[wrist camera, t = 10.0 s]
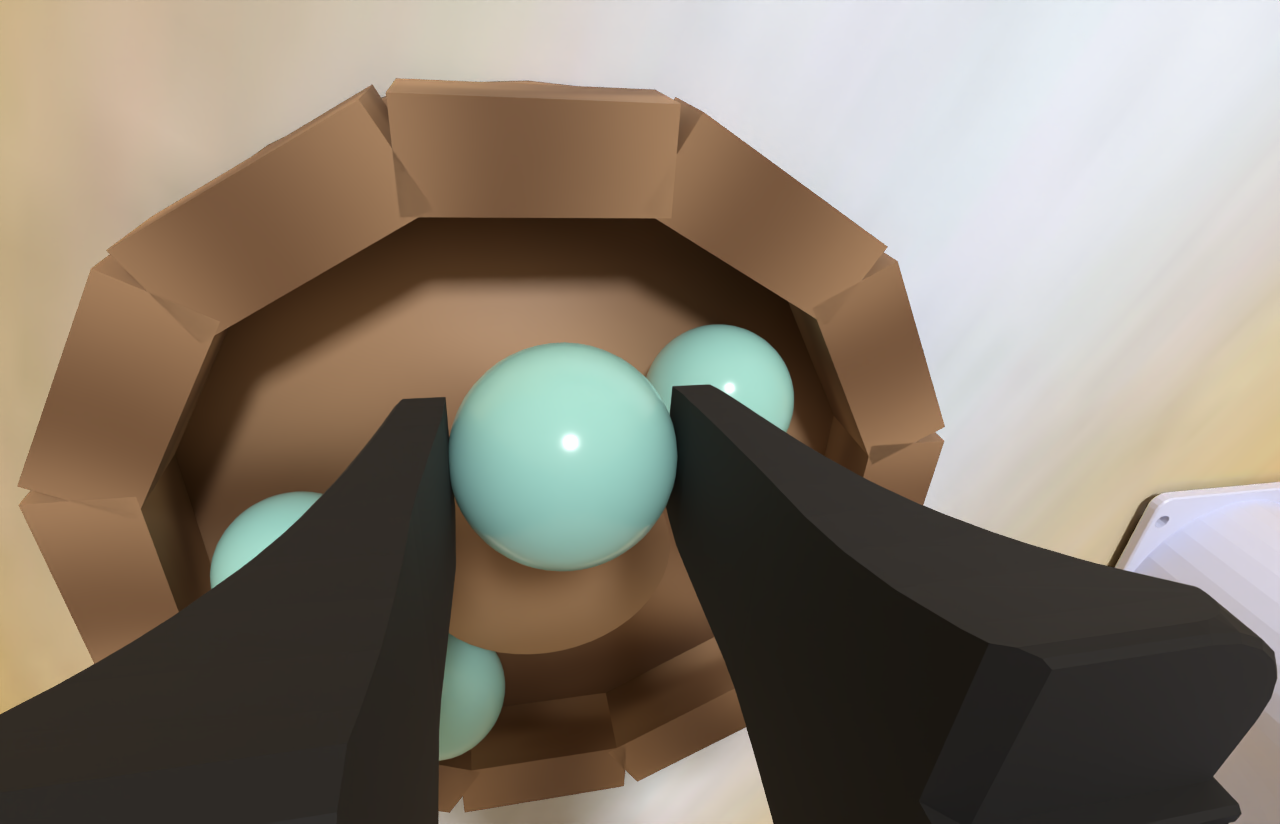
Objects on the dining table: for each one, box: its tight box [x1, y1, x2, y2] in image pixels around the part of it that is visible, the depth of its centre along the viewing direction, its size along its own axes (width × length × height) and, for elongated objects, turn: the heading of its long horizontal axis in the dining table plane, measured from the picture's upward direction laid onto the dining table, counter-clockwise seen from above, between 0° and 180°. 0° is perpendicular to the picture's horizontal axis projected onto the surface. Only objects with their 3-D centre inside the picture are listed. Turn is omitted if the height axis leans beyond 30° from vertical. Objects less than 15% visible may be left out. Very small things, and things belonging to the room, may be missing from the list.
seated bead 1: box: [210, 491, 322, 589], centre depth 16 cm, size 3×3×3 cm
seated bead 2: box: [439, 634, 505, 761], centre depth 19 cm, size 3×3×3 cm
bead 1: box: [449, 342, 678, 571], centre depth 11 cm, size 3×3×3 cm
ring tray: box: [18, 78, 945, 813], centre depth 18 cm, size 20×20×3 cm
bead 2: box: [646, 324, 794, 433], centre depth 16 cm, size 3×3×3 cm
